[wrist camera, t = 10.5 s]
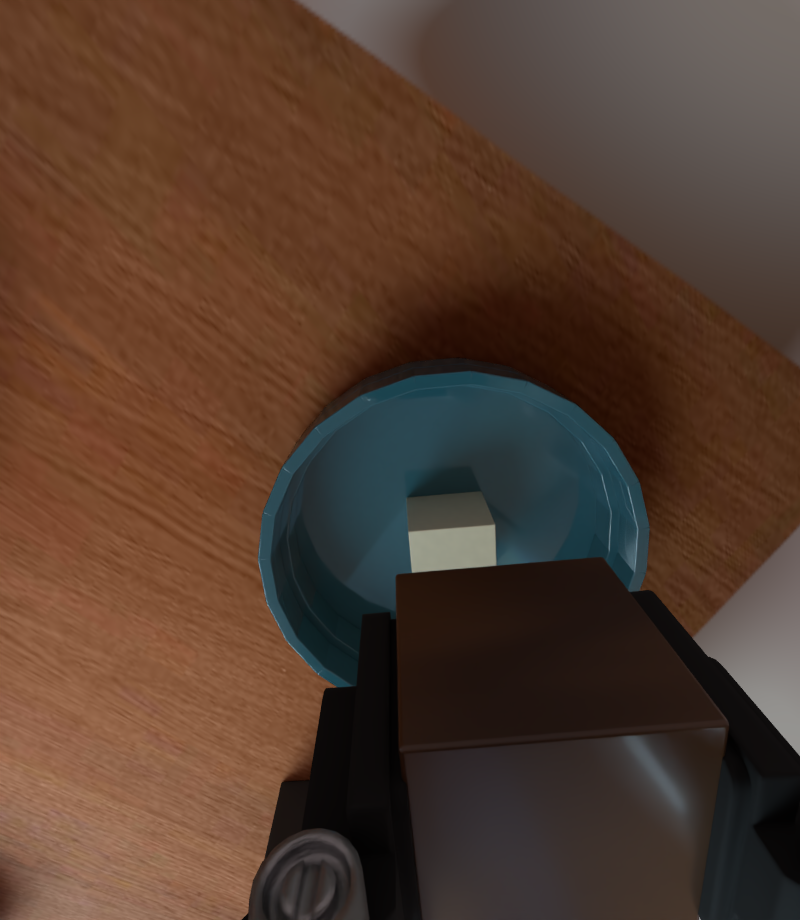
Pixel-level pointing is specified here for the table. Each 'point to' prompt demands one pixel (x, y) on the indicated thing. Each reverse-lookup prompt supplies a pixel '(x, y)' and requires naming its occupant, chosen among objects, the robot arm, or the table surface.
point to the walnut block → (550, 747)
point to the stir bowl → (436, 473)
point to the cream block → (450, 532)
